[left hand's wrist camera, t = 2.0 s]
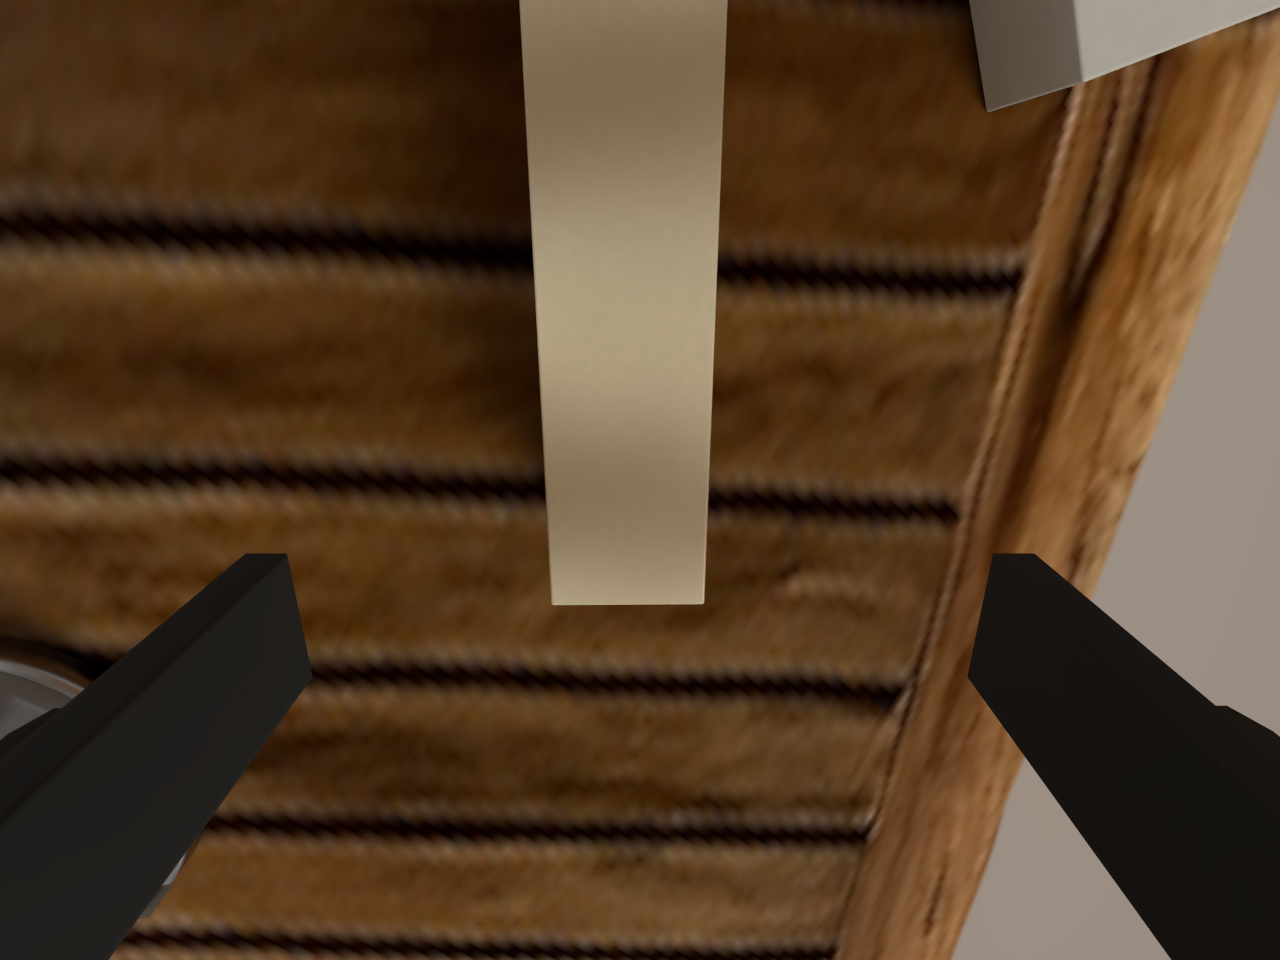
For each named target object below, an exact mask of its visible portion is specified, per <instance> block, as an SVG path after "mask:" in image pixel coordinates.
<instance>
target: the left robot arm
mask: <svg viewBox="0 0 1280 960" xmlns="http://www.w3.org/2000/svg"><path fill="white" fill-rule="evenodd" d="M311 678H312V672H311V667H310V663H309V658H308V653H307V648H306V643H305V639H304V634H303V629H302V624H301V619H300V615H299V610H298V605H297V600H296V595H295V591H294V586H293V581H292V576H291V571H290V566H289V562H288V557H287V554H245V555H243V556H242V557H241V558H240V559H239V560H237V561H236V562H235V563H234V564H233V565H231V566H230V567H229V568H228V569H227V570H226V571H224V572H223V573H222V574H221V575H220V576H218V577H217V578H216V579H215V580H214V581H212V582H211V583H210V584H209V585H208V586H206V587H205V588H204V589H203V590H202V591H201V592H199V593H198V594H197V595H196V596H195V597H193V598H192V599H191V600H190V601H189V602H187V603H186V604H185V605H184V606H183V607H181V608H180V609H179V610H178V611H177V612H176V613H174V614H173V615H172V616H171V617H170V618H168V619H167V620H166V621H165V622H164V623H162V624H161V625H160V626H159V627H158V628H156V629H155V630H154V631H153V632H152V633H151V634H149V635H148V636H147V637H146V638H145V639H143V640H142V641H141V642H140V643H139V644H137V645H136V646H135V647H134V648H133V649H131V650H130V651H129V652H128V653H127V654H125V655H124V656H123V657H122V658H121V659H120V660H118V661H117V662H116V663H115V664H114V665H112V666H111V667H110V668H109V669H108V670H106V671H103V670H101V669H99V668H97V667H95V666H93V665H91V664H89V663H87V662H85V661H83V660H80V659H78V658H76V657H73V656H71V655H69V654H66V653H63V652H60V651H57V650H54V649H51V648H48V647H44V646H40V645H36V644H33V643H28V642H23V641H18V640H13V639H5V638H0V960H109V958H110V957H111V956H112V954H113V953H114V951H115V950H116V949H117V947H118V946H119V945H120V943H121V942H122V940H123V939H124V938H125V936H126V935H127V933H128V932H129V931H130V929H131V928H132V927H133V925H134V924H135V922H136V921H137V920H138V919H141V918H146V917H150V915H151V914H152V913H153V911H154V910H155V908H156V907H157V905H158V904H159V903H160V901H161V900H162V898H163V897H164V896H165V894H166V893H167V891H168V890H169V889H170V887H171V886H172V884H171V883H172V882H173V880H174V879H175V877H176V876H177V875H178V873H179V872H180V870H181V869H182V867H183V866H184V865H185V863H186V862H187V860H188V859H189V857H190V856H191V854H192V853H193V852H194V850H195V849H196V847H197V845H198V843H199V841H200V839H201V836H202V833H203V830H204V827H205V825H206V824H207V822H208V821H209V820H210V818H211V817H212V816H213V814H214V813H215V811H216V810H217V809H218V807H219V806H220V804H221V803H222V802H223V800H224V799H225V798H226V796H227V795H228V793H229V792H230V791H231V789H232V788H233V786H234V785H235V784H236V782H237V781H238V779H239V778H240V777H241V775H242V774H243V773H244V771H245V770H246V768H247V767H248V766H249V764H250V763H251V761H252V760H253V759H254V757H255V756H256V755H257V753H258V752H259V750H260V749H261V748H262V746H263V745H264V743H265V742H266V741H267V739H268V738H269V736H270V735H271V734H272V732H273V731H274V730H275V728H276V727H277V725H278V724H279V723H280V721H281V720H282V718H283V717H284V716H285V714H286V713H287V712H288V710H289V709H290V707H291V706H292V705H293V703H294V702H295V700H296V699H297V698H298V696H299V695H300V693H301V692H302V691H303V689H304V688H305V687H306V685H307V684H308V682H309V681H310V680H311ZM968 678H969V680H970V681H971V682H972V684H973V685H974V687H975V688H976V689H977V691H978V692H979V693H980V695H981V696H982V698H983V699H984V700H985V702H986V703H987V705H988V706H989V707H990V709H991V710H992V712H993V713H994V714H995V716H996V717H997V718H998V720H999V721H1000V723H1001V724H1002V725H1003V727H1004V728H1005V730H1006V731H1007V732H1008V734H1009V735H1010V736H1011V738H1012V739H1013V741H1014V742H1015V743H1016V745H1017V746H1018V748H1019V749H1020V750H1021V752H1022V753H1023V755H1024V756H1025V757H1026V759H1027V760H1028V761H1029V763H1030V764H1031V766H1032V767H1033V768H1034V770H1035V771H1036V773H1037V774H1038V775H1039V777H1040V778H1041V779H1042V781H1043V782H1044V784H1045V785H1046V786H1047V788H1048V789H1049V790H1050V792H1051V793H1052V795H1053V796H1054V797H1055V799H1056V800H1057V802H1058V803H1059V804H1060V806H1061V807H1062V809H1063V810H1064V811H1065V813H1066V814H1067V816H1068V817H1069V818H1070V820H1071V821H1072V822H1073V824H1074V825H1075V827H1076V828H1077V829H1078V831H1079V832H1080V834H1081V835H1082V836H1083V838H1084V839H1085V841H1086V842H1087V843H1088V845H1089V846H1090V847H1091V849H1092V850H1093V852H1094V853H1095V854H1096V856H1097V857H1098V859H1099V860H1100V861H1101V863H1102V864H1103V865H1104V867H1105V868H1106V869H1107V871H1108V872H1109V874H1110V875H1111V877H1112V878H1113V879H1114V881H1115V882H1116V883H1117V885H1118V886H1119V888H1120V889H1121V890H1122V892H1123V893H1124V894H1125V896H1126V897H1127V899H1128V900H1129V902H1130V903H1131V904H1132V906H1133V907H1134V908H1135V910H1136V911H1137V913H1138V914H1139V915H1140V917H1141V918H1142V920H1143V921H1144V922H1145V924H1146V925H1147V926H1148V928H1149V929H1150V931H1151V932H1152V933H1153V935H1154V936H1155V938H1156V939H1157V940H1158V942H1159V943H1160V945H1161V946H1162V947H1163V949H1164V950H1165V951H1166V953H1167V954H1168V956H1169V957H1170V958H1171V960H1280V737H1279V736H1278V735H1277V734H1276V733H1274V732H1273V731H1271V730H1270V729H1268V728H1266V727H1264V726H1262V725H1261V724H1259V723H1257V722H1255V721H1253V720H1252V719H1250V718H1248V717H1246V716H1244V715H1242V714H1241V713H1239V712H1237V711H1235V710H1233V709H1231V708H1230V707H1228V706H1215V705H1214V704H1213V703H1212V702H1210V701H1209V700H1208V699H1207V698H1206V697H1205V696H1203V695H1202V694H1201V693H1200V692H1199V691H1197V690H1196V689H1195V688H1194V687H1193V686H1191V685H1190V684H1189V683H1188V682H1187V681H1185V680H1184V679H1183V678H1182V677H1181V676H1180V675H1178V674H1177V673H1176V672H1175V671H1173V670H1172V669H1171V668H1170V667H1169V666H1168V665H1166V664H1165V663H1164V662H1163V661H1162V660H1160V659H1159V658H1158V657H1157V656H1156V655H1154V654H1153V653H1152V652H1151V651H1150V650H1149V649H1147V648H1146V647H1145V646H1144V645H1143V644H1141V643H1140V642H1139V641H1138V640H1137V639H1135V638H1134V637H1133V636H1132V635H1131V634H1129V633H1128V632H1127V631H1126V630H1125V629H1124V628H1122V627H1121V626H1120V625H1119V624H1118V623H1116V622H1115V621H1114V620H1113V619H1112V618H1110V617H1109V616H1108V615H1107V614H1106V613H1104V612H1103V611H1102V610H1101V609H1100V608H1099V607H1097V606H1096V605H1095V604H1094V603H1093V602H1091V601H1090V600H1089V599H1088V598H1087V597H1085V596H1084V595H1083V594H1082V593H1081V592H1079V591H1078V590H1077V589H1076V588H1075V587H1074V586H1072V585H1071V584H1070V583H1069V582H1068V581H1066V580H1065V579H1064V578H1063V577H1062V576H1060V575H1059V574H1058V573H1057V572H1056V571H1054V570H1053V569H1052V568H1051V567H1050V566H1049V565H1047V564H1046V563H1045V562H1044V561H1043V560H1041V559H1040V558H1039V557H1038V556H1037V555H1035V554H993V557H992V562H991V566H990V571H989V576H988V581H987V586H986V591H985V595H984V600H983V605H982V610H981V615H980V619H979V624H978V629H977V634H976V639H975V643H974V648H973V653H972V658H971V663H970V667H969V672H968Z"/></svg>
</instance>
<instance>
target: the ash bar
mask: <svg viewBox="0 0 1280 960" xmlns="http://www.w3.org/2000/svg"><path fill="white" fill-rule="evenodd" d="M727 2H728V0H519V4H520V23H521V42H522V61H523V79H524V98H525V117H526V135H527V154H528V173H529V191H530V210H531V229H532V248H533V266H534V285H535V304H536V322H537V341H538V360H539V379H540V397H541V416H542V435H543V453H544V472H545V491H546V509H547V528H548V547H549V566H550V584H551V603H552V605H627V604H703V603H704V595H705V569H706V544H707V518H708V492H709V466H710V440H711V415H712V389H713V363H714V337H715V311H716V286H717V260H718V234H719V208H720V182H721V157H722V131H723V105H724V79H725V53H726V28H727Z"/></svg>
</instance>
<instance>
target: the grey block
mask: <svg viewBox="0 0 1280 960" xmlns="http://www.w3.org/2000/svg"><path fill="white" fill-rule="evenodd" d="M969 3H970V10H971V16H972V22H973V29H974V35H975V41H976V47H977V54H978V60H979V66H980V73H981V79H982V85H983V91H984V98H985V104H986V110H987V112H991V111H994V110H997V109H1001V108H1004V107H1007V106H1010V105H1013V104H1017V103H1020V102H1023V101H1026V100H1030V99H1033V98H1036V97H1039V96H1042V95H1046V94H1049V93H1052V92H1055V91H1058V90H1062V89H1065V88H1068V87H1071V86H1074V85H1078V84H1081V83H1084V82H1087V81H1089V80H1092V79H1095V78H1097V77H1100V76H1102V75H1105V74H1108V73H1110V72H1113V71H1115V70H1118V69H1121V68H1123V67H1126V66H1128V65H1131V64H1134V63H1136V62H1139V61H1141V60H1144V59H1147V58H1149V57H1152V56H1154V55H1157V54H1160V53H1162V52H1165V51H1167V50H1170V49H1173V48H1175V47H1178V46H1180V45H1183V44H1186V43H1188V42H1191V41H1193V40H1196V39H1199V38H1201V37H1204V36H1207V35H1209V34H1212V33H1214V32H1217V31H1220V30H1222V29H1225V28H1227V27H1230V26H1233V25H1235V24H1238V23H1240V22H1243V21H1246V20H1248V19H1251V18H1253V17H1256V16H1259V15H1261V14H1264V13H1266V12H1269V11H1272V10H1274V9H1277V8H1279V7H1280V0H969Z"/></svg>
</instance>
